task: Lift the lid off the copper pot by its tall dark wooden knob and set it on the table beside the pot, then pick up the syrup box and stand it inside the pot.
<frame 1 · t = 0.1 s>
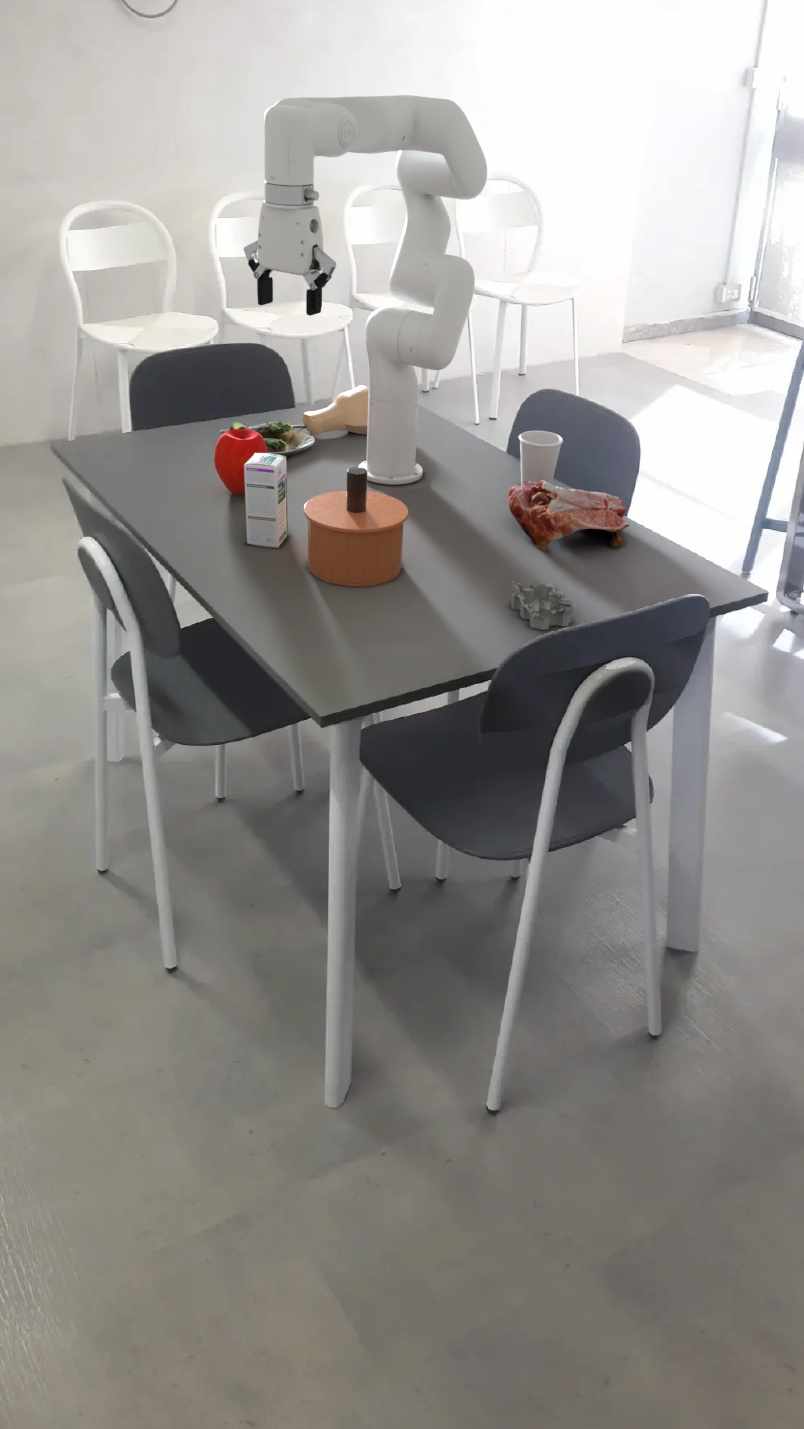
hand: (289, 308, 203), 37 cm above the table, tool pointing down, fingers open, 9 cm apart
lid: (356, 512, 203), point 9 cm above the table, touching pot
pot: (354, 566, 208), on the table
squash: (349, 431, 267), on the table, touching salad plate
apple: (241, 493, 234), on the table
egg carton: (541, 615, 196), on the table
salad plate: (265, 447, 257), on the table, touching squash
syrup box: (267, 541, 216), on the table
meat: (566, 531, 225), on the table
dixie cup: (535, 488, 243), on the table
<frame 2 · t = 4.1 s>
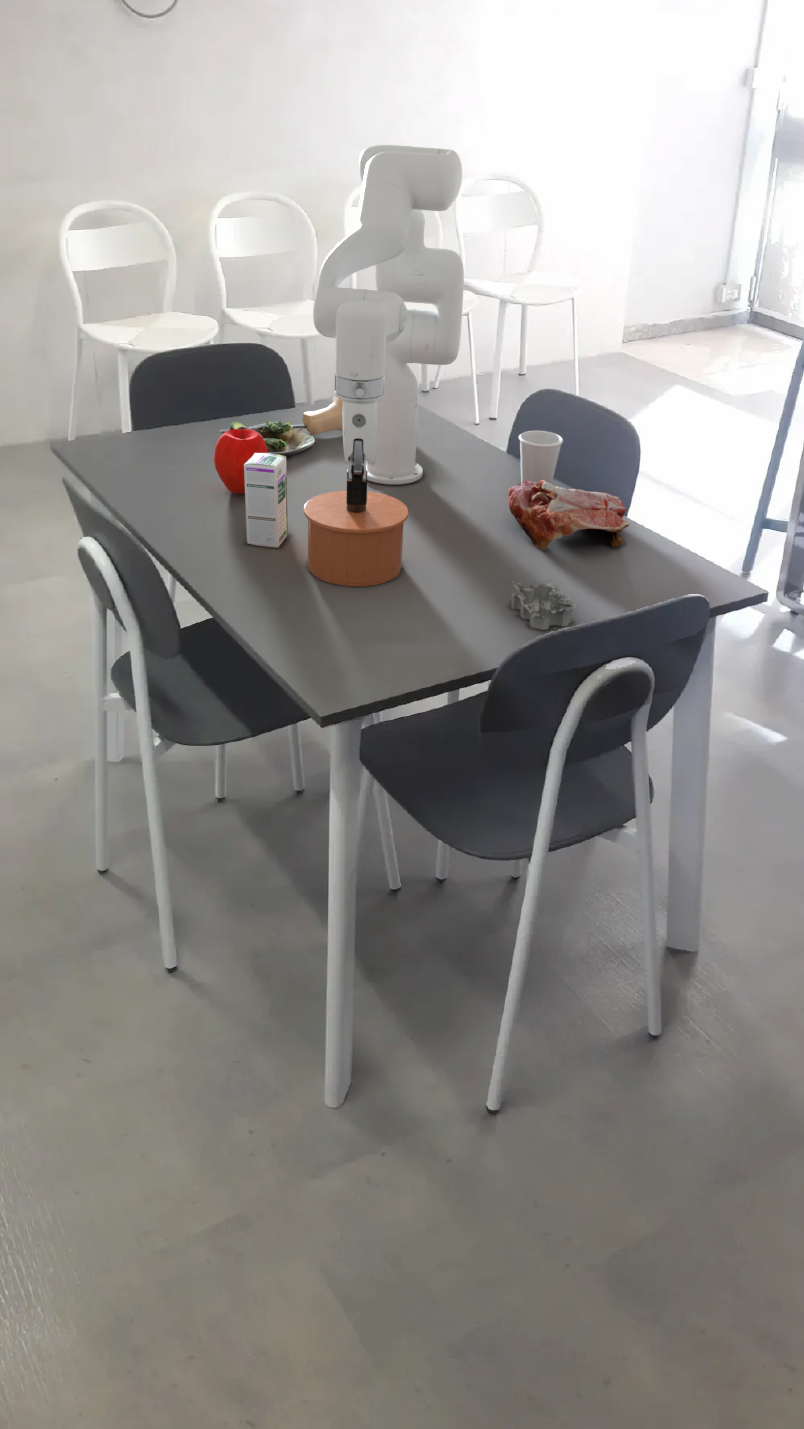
hand: (356, 498, 202), 12 cm above the table, tool pointing down, fingers closed on lid, 3 cm apart
lid: (356, 512, 203), point 10 cm above the table, touching gripper, pot
everything else where it was.
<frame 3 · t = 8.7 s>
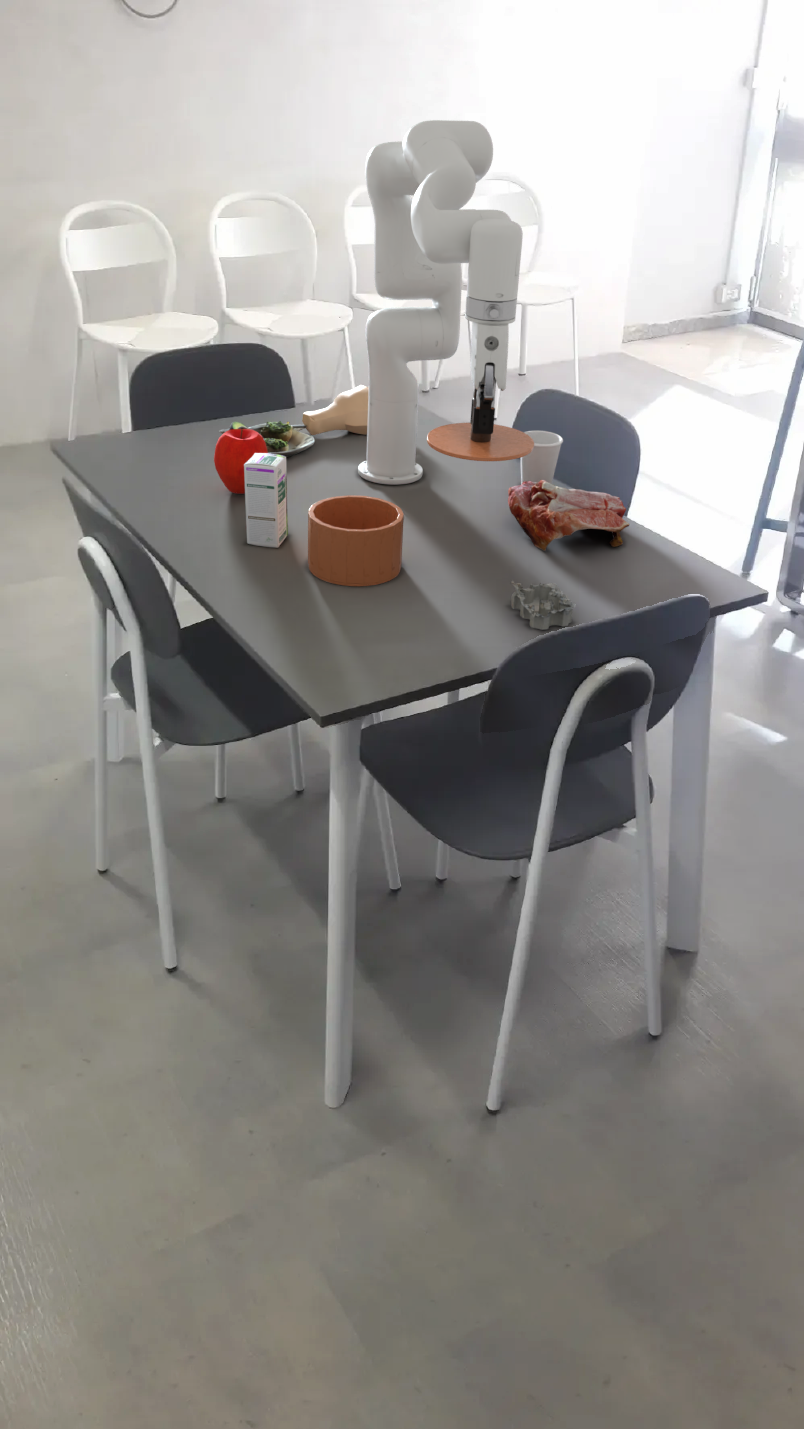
hand: (481, 428, 197), 24 cm above the table, tool pointing down, fingers closed on lid, 3 cm apart
lid: (480, 443, 198), point 22 cm above the table, touching gripper
everything else where it was.
when the fingers open (3 cm above the table, at t = 13.5 s): lid stays where it is, point 1 cm above the table.
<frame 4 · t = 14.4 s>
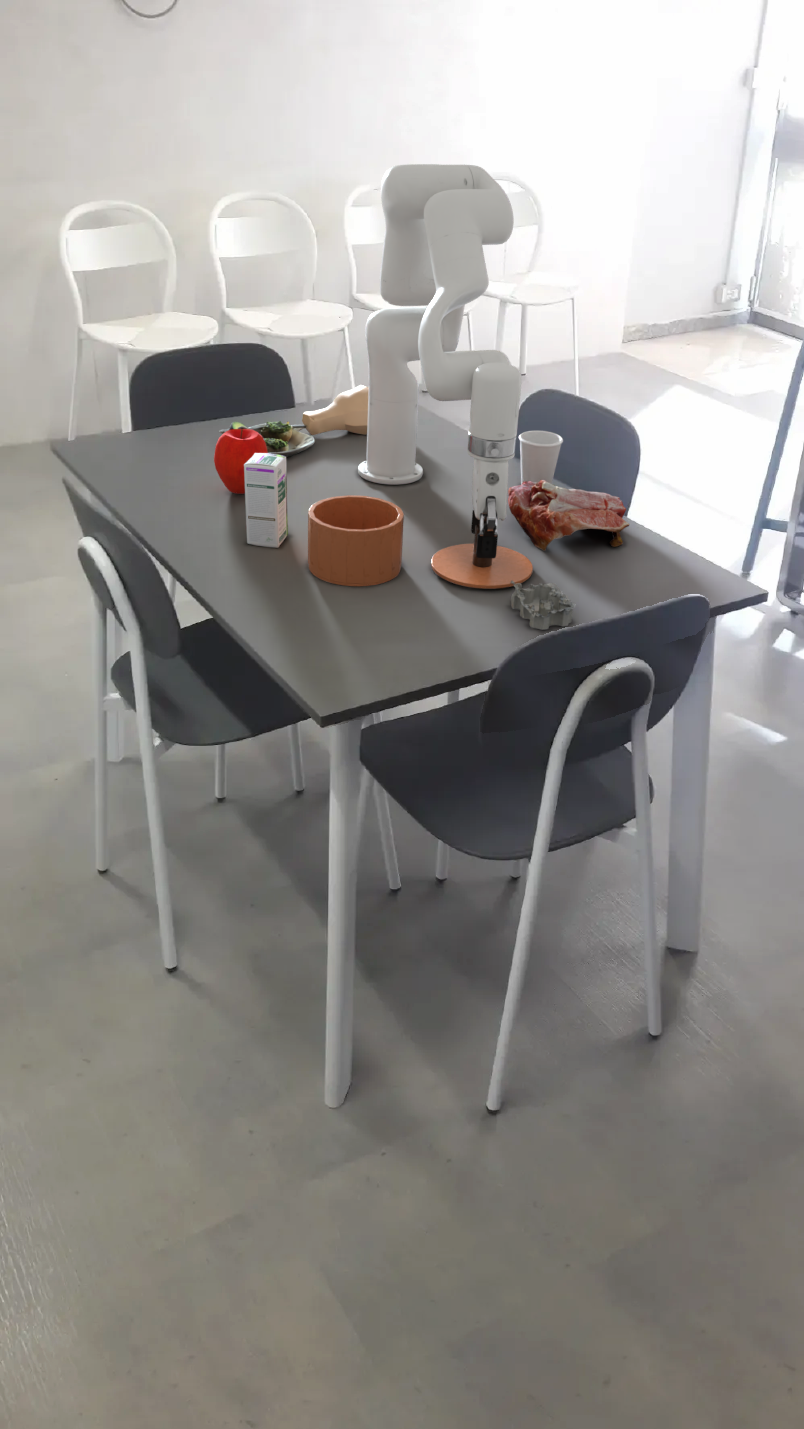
hand: (483, 545, 207), 4 cm above the table, tool pointing down, fingers open, 9 cm apart
lid: (481, 567, 209), point 1 cm above the table
everything else where it was.
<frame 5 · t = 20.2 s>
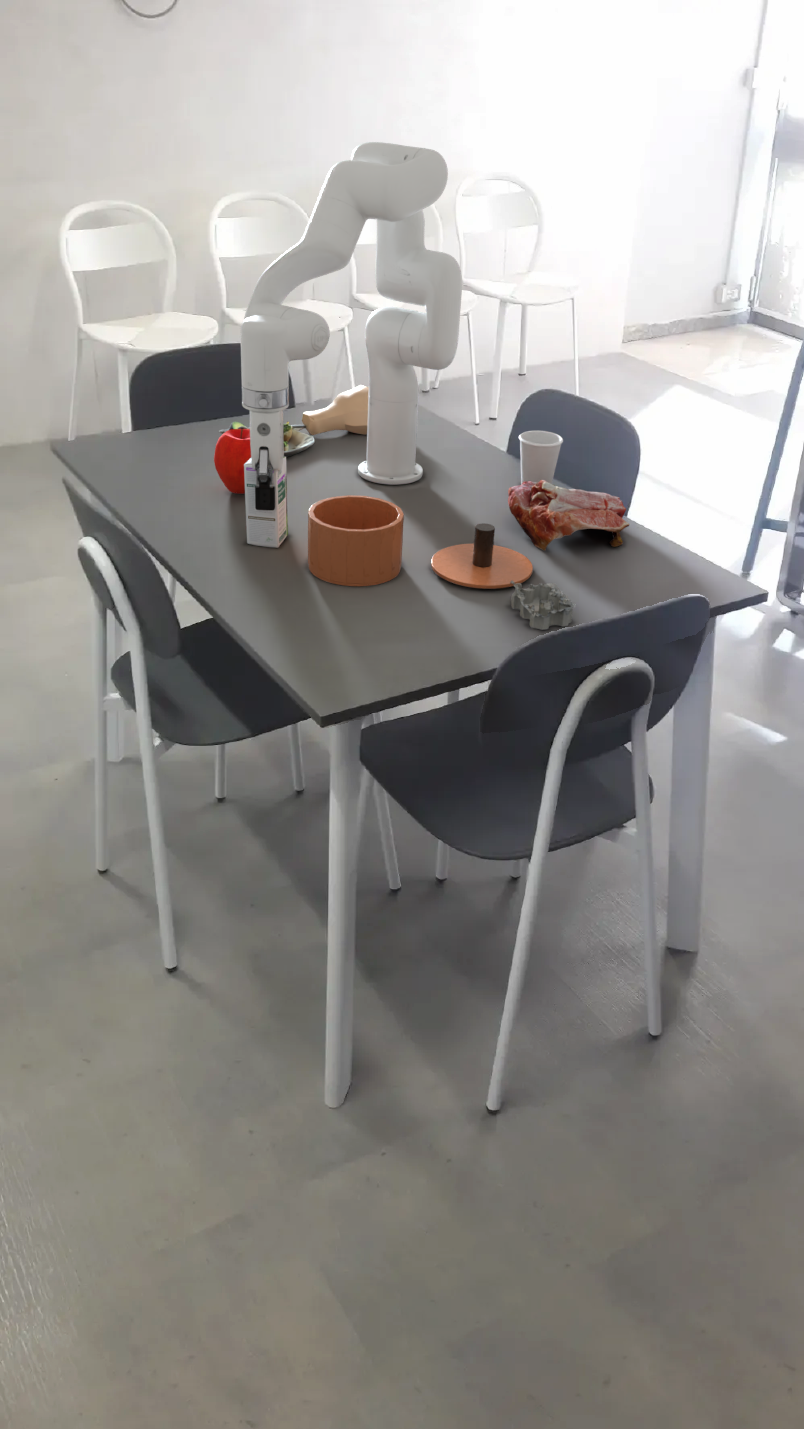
hand: (266, 500, 212), 7 cm above the table, tool pointing down, fingers closed on syrup box, 6 cm apart
syrup box: (267, 541, 216), on the table, touching gripper
everything else where it was.
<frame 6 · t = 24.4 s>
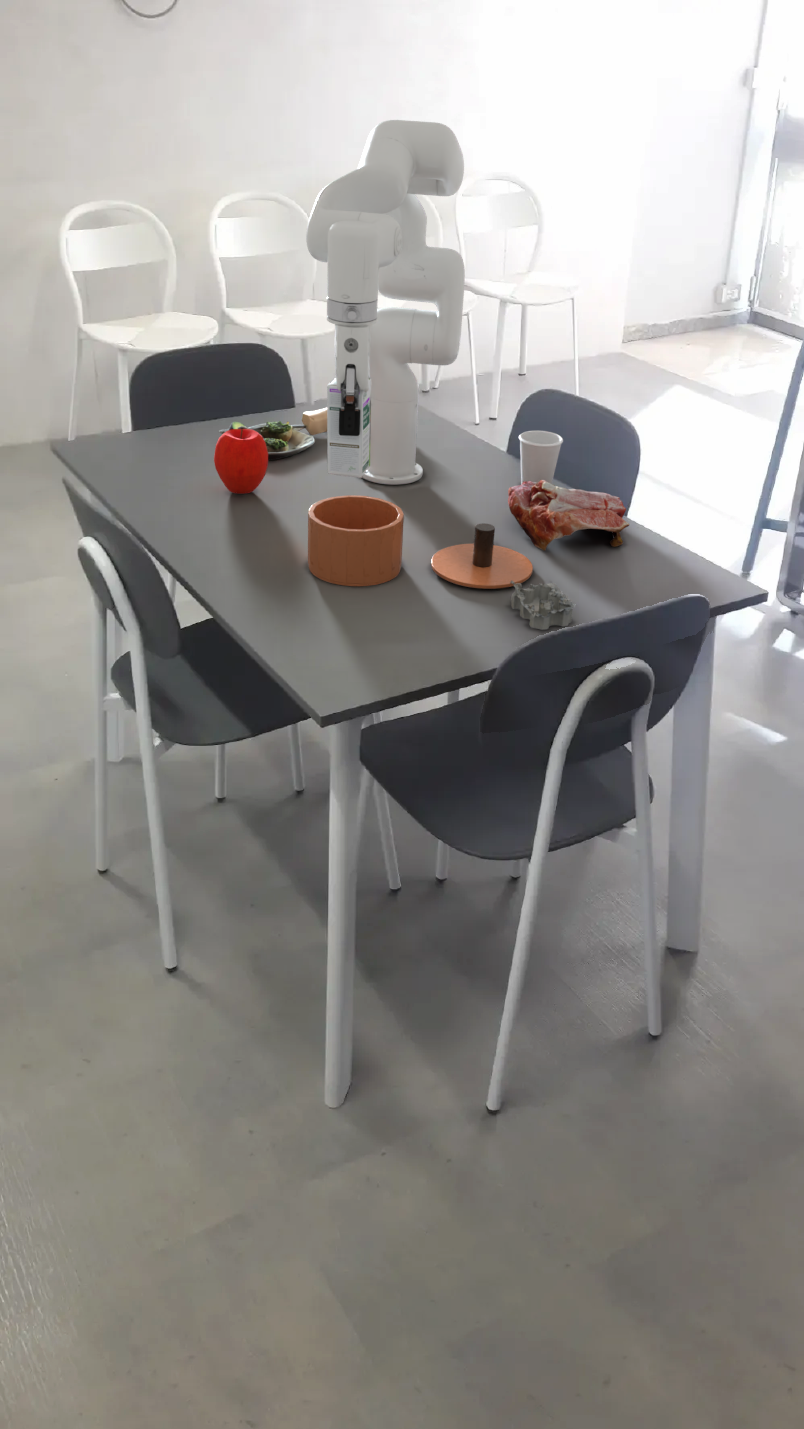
hand: (349, 426, 197), 23 cm above the table, tool pointing down, fingers closed on syrup box, 6 cm apart
syrup box: (348, 471, 201), point 16 cm above the table, touching gripper
everything else where it was.
when the fingers open (8 cm above the table, at t = 28.5 s): syrup box stays where it is, resting on pot.
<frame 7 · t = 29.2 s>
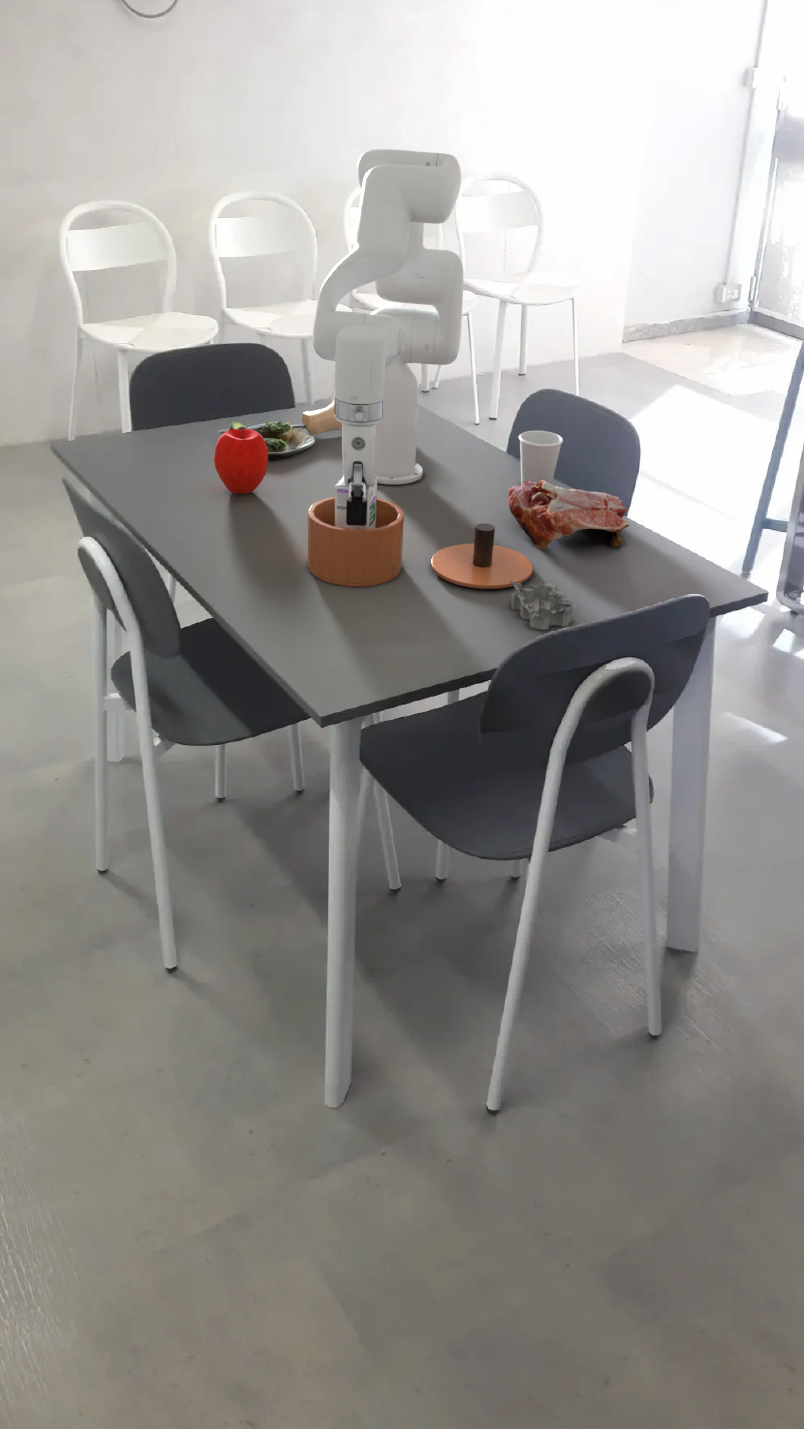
hand: (356, 513, 203), 9 cm above the table, tool pointing down, fingers open, 9 cm apart
syrup box: (354, 564, 208), resting on pot
everything else where it was.
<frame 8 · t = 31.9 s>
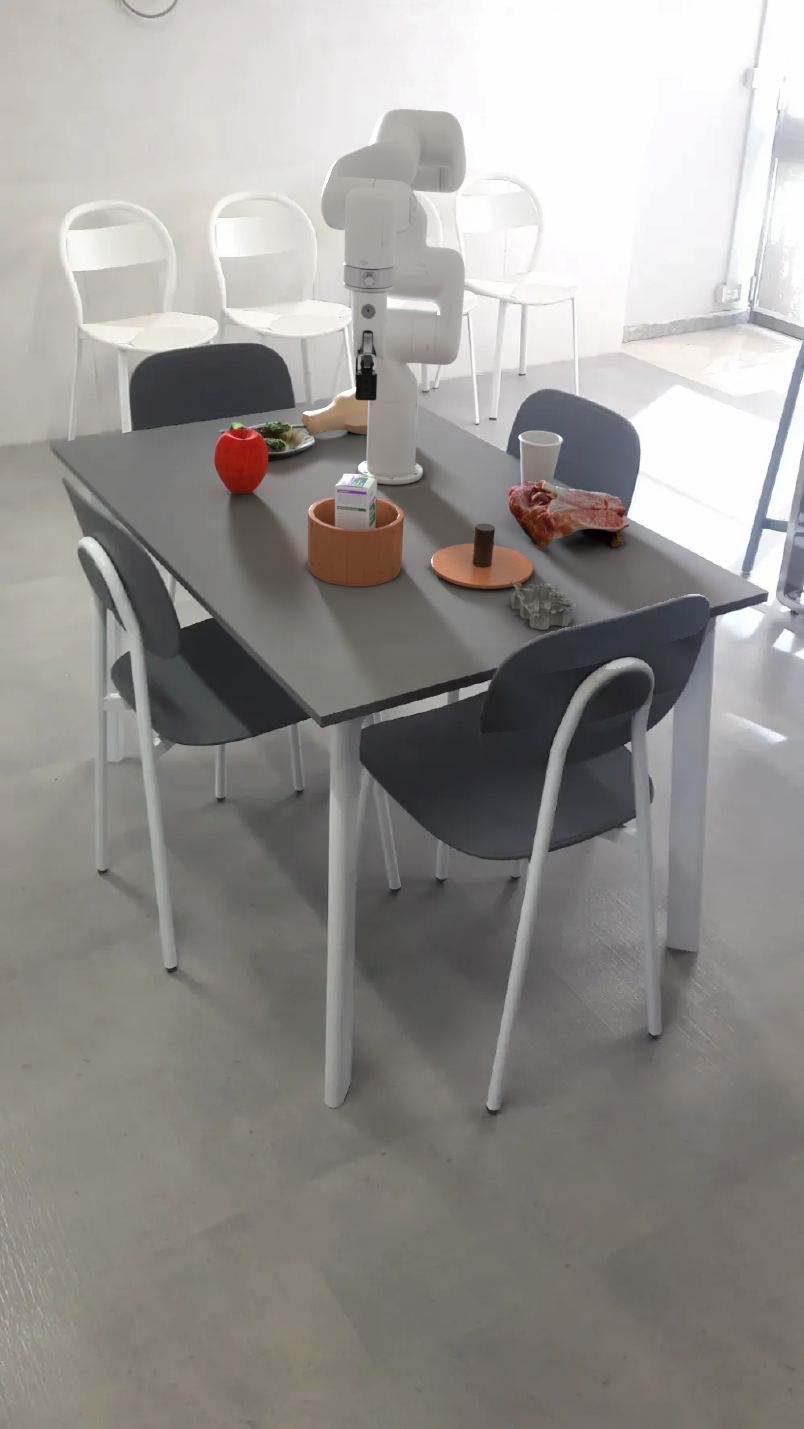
hand: (365, 390, 197), 28 cm above the table, tool pointing down, fingers open, 9 cm apart
nothing on the table moved.
at the end: lid inside the target area on the table beside the pot (0.1 cm from its centre), point 0.6 cm above the table; syrup box inside the target area in the pot (0.1 cm from its centre), point 0.3 cm above the pot's base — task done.
